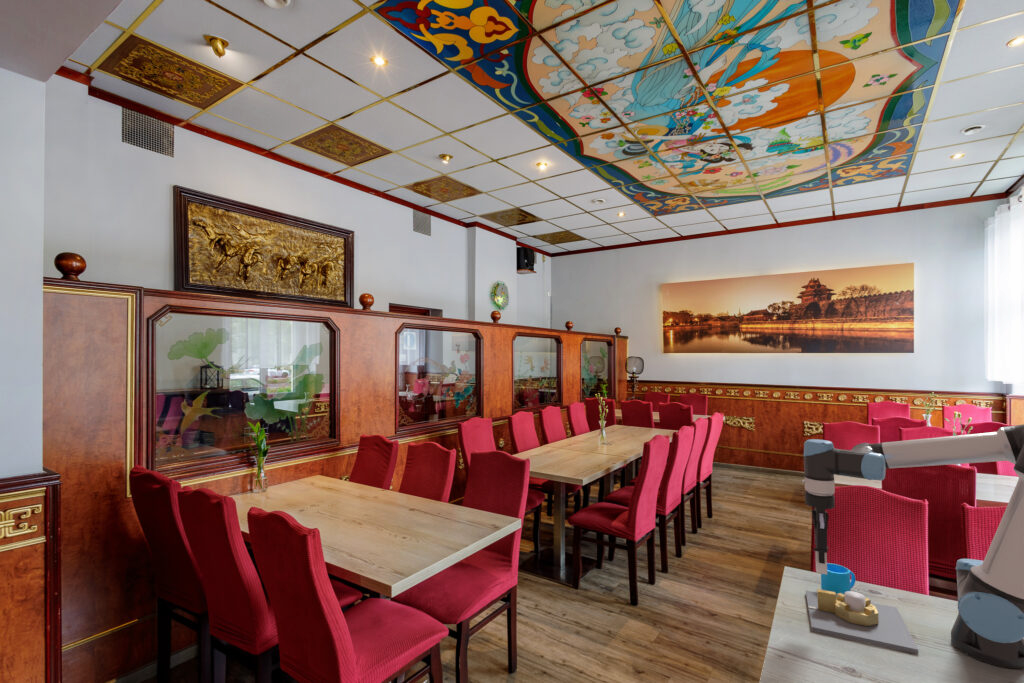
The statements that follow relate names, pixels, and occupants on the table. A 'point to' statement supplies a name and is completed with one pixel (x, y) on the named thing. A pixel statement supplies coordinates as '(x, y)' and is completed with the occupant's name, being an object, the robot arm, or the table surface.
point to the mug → (837, 579)
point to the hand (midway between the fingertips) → (821, 572)
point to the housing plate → (883, 634)
